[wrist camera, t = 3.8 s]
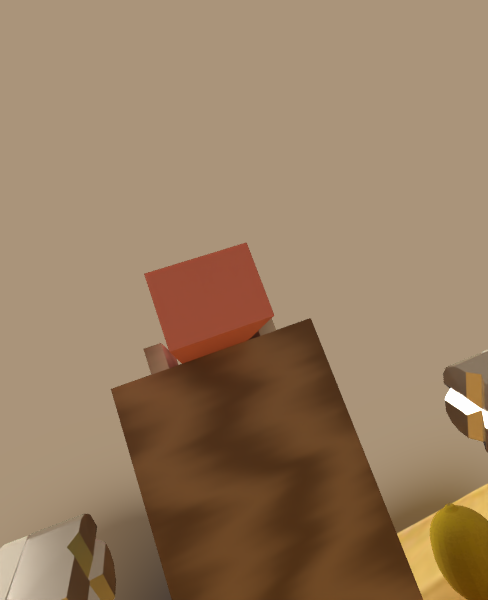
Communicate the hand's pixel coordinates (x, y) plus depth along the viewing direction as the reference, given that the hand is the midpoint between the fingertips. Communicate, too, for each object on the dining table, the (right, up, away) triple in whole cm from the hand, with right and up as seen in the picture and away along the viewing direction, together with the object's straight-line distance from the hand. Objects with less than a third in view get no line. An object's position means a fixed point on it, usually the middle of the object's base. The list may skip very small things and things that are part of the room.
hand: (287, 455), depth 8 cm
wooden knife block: (+6, -25, +14) cm, 29 cm away
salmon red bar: (-3, 0, +16) cm, 16 cm away
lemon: (+19, -22, +22) cm, 36 cm away
